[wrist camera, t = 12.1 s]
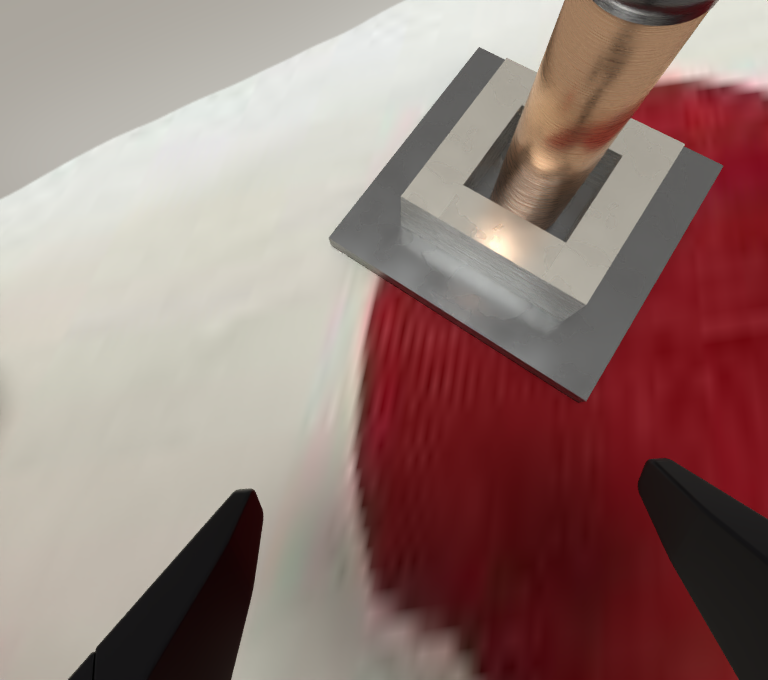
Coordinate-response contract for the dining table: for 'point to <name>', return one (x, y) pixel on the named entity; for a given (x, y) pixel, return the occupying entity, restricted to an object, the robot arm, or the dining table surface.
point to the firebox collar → (525, 230)
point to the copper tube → (588, 96)
